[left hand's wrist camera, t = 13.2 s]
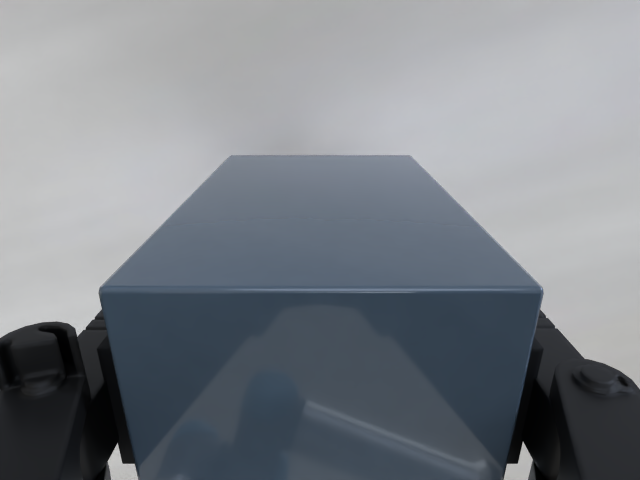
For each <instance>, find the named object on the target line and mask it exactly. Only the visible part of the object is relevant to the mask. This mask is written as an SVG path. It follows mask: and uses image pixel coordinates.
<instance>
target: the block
mask: <svg viewBox="0 0 640 480" xmlns="http://www.w3.org/2000/svg"><path fill="white" fill-rule="evenodd" d="M99 297H100V302H101V306H102V311H103V316H104V321H105V325H106V330H107V335H108V339H109V344H110V349H111V353H112V358H113V363H114V367H115V372H116V377H117V382H118V386H119V391H120V396H121V400H122V405H123V410H124V414H125V419H126V424H127V429H128V433H129V438H130V443H131V447H132V452H133V457H134V461H135V466H136V471H137V475H138V480H503V479H504V475H505V470H506V465H507V461H508V456H509V451H510V447H511V442H512V437H513V433H514V428H515V423H516V419H517V414H518V409H519V405H520V400H521V395H522V391H523V386H524V382H525V377H526V372H527V368H528V363H529V358H530V354H531V349H532V344H533V340H534V335H535V330H536V326H537V321H538V316H539V312H540V307H541V302H542V298H543V288H542V286H541V285H540V284H539V283H538V282H537V281H536V280H535V279H534V278H533V277H532V276H531V275H530V274H529V273H528V272H527V271H526V270H525V269H524V268H523V267H522V266H521V265H520V264H519V263H518V262H517V261H516V260H515V259H514V258H513V257H512V256H511V255H510V254H509V253H508V252H507V251H506V250H505V249H504V248H503V247H502V246H501V245H500V244H499V243H498V242H497V241H496V240H495V239H494V238H493V237H492V236H491V235H490V234H489V233H488V232H487V231H486V230H485V229H484V228H483V227H482V226H481V225H480V224H479V223H478V222H477V221H476V220H475V219H474V218H473V217H472V216H471V215H470V214H469V213H468V212H467V211H466V210H465V209H464V208H463V207H462V206H461V205H460V204H459V203H458V202H457V201H456V200H455V199H454V198H453V197H452V196H451V195H450V194H449V193H448V192H447V191H446V190H445V189H444V188H443V187H442V186H441V185H440V184H439V183H438V182H437V181H436V180H435V179H434V178H433V177H432V176H431V175H430V174H429V173H428V172H427V171H426V170H425V169H424V168H423V167H422V166H421V165H420V164H419V163H418V162H417V161H416V160H415V159H414V158H413V157H412V156H410V155H231V156H229V157H228V158H227V159H226V160H225V161H224V162H223V163H222V164H221V165H220V166H219V167H218V168H217V169H216V170H215V171H214V172H213V174H212V175H211V176H210V177H209V178H208V179H207V180H206V181H205V182H204V183H203V184H202V185H201V186H200V187H199V188H198V189H197V190H196V191H195V192H194V193H193V194H192V195H191V196H190V197H189V198H188V199H187V200H186V201H185V202H184V203H183V204H182V205H181V206H180V207H179V208H178V209H177V210H176V211H175V212H174V213H173V214H172V215H171V216H170V217H169V218H168V219H167V220H166V221H165V222H164V223H163V224H162V225H161V226H160V227H159V228H158V229H157V230H156V231H155V232H154V233H153V234H152V235H151V236H150V237H149V238H148V239H147V240H146V241H145V242H144V243H143V244H142V245H141V246H140V247H139V248H138V249H137V250H136V251H135V252H134V253H133V254H132V255H131V256H130V257H129V258H128V259H127V260H126V261H125V262H124V263H123V264H122V265H121V266H120V267H119V268H118V269H117V270H116V271H115V272H114V273H113V274H112V275H111V276H110V277H109V278H108V279H107V280H106V281H105V283H104V284H103V285H102V286H101V287H100V289H99Z"/></svg>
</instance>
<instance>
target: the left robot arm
mask: <svg viewBox="0 0 640 480" xmlns="http://www.w3.org/2000/svg"><path fill="white" fill-rule="evenodd" d="M522 442H524V444H525V445H526V447H527V449H528V451H529V453H530V455H531V457H532V458H533V462H532V466H531V470H530V474H529V478H528V480H640V389H639V388H638V387H637V386H636V384H635V383H634V382H633V381H632V380H631V379H630V378H629V377H627V376H626V375H624V374H623V373H622V372H620V371H619V370H617V369H614V368H612V367H610V366H608V365H606V364H603V363H600V362H596V361H592V360H588V359H584V358H583V357H582V356H581V354H580V353H579V352H578V351H577V350H576V349H575V348H574V347H573V346H572V344H571V343H570V342H569V341H568V340H567V339H566V338H565V337H564V336H563V334H562V333H561V332H560V331H559V330H558V329H555V326H554V324H553V323H552V322H551V321H550V320H549V319H548V318H546V316H545V314H544V313H543V312H542V311H541V310H540V312H539V316H538V321H537V326H536V330H535V335H534V340H533V344H532V349H531V354H530V358H529V363H528V368H527V372H526V377H525V382H524V386H523V391H522V395H521V400H520V405H519V409H518V414H517V419H516V423H515V428H514V433H513V437H512V442H511V447H510V451H509V456H508V461H507V464H518V460H519V455H520V451H521V447H522ZM117 443H118V445H119V450H120V454H121V458H122V463H123V464H135V461H134V457H133V452H132V447H131V443H130V438H129V433H128V429H127V424H126V419H125V414H124V410H123V405H122V400H121V396H120V391H119V386H118V382H117V377H116V372H115V367H114V363H113V358H112V353H111V349H110V344H109V339H108V335H107V330H106V325H105V321H104V316H103V311H102V310H101V311H100V312H99V313H98V314H97V316H96V317H95V320H92V321H91V322H90V323H89V325H88V326H87V327H86V330H83V331H82V332H81V333H80V335H79V336H78V337H77V334H76V330H75V328H74V327H72V326H71V325H70V324H68V323H62V322H43V323H38V324H34V325H29V326H25V327H23V328H20V329H18V330H15V331H12V332H10V333H8V334H6V335H5V336H3V337H1V338H0V480H111V476H110V470H109V466H108V462H107V461H108V460H109V458H110V456H111V454H112V452H113V450H114V448H115V447H116V445H117Z"/></svg>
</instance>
